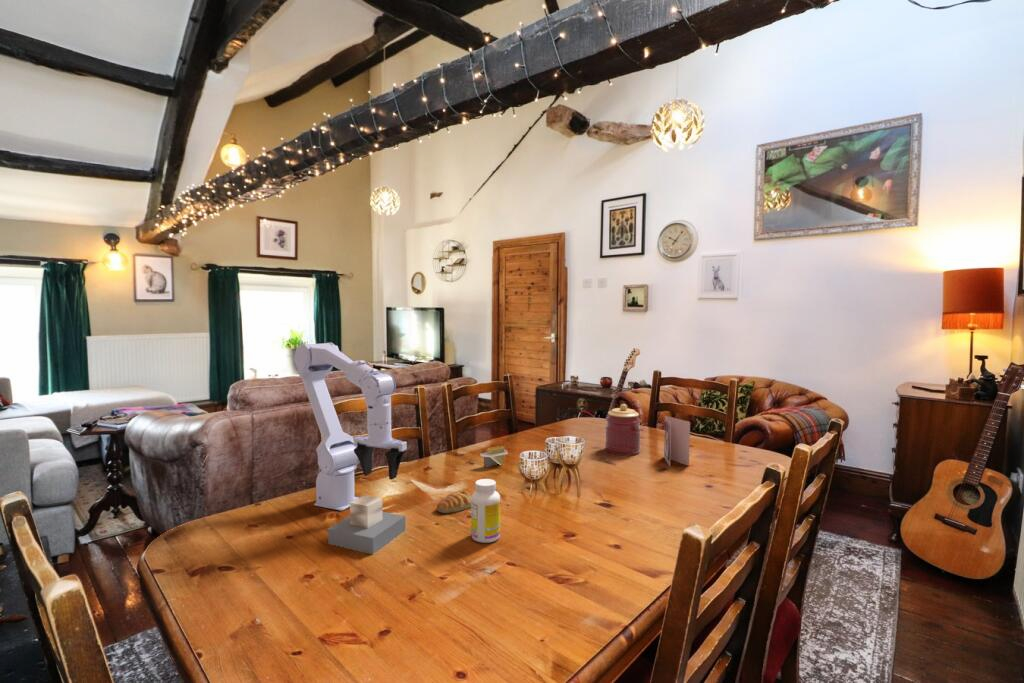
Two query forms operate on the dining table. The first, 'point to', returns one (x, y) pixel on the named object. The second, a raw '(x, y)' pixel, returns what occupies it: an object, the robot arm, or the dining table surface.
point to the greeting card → (676, 440)
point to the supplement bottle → (485, 512)
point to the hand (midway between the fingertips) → (380, 476)
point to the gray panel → (367, 533)
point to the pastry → (454, 502)
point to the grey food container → (494, 456)
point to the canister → (623, 431)
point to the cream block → (366, 511)
